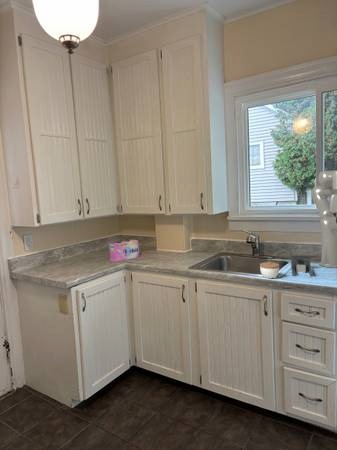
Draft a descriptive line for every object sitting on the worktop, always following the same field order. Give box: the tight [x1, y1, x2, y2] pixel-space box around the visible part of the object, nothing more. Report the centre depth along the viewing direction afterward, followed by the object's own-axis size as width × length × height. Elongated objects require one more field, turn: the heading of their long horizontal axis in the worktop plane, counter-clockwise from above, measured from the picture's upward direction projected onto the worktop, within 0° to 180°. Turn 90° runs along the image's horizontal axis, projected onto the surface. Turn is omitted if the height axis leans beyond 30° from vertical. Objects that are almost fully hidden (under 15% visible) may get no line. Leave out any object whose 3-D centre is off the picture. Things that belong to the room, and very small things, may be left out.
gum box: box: [108, 238, 140, 263], centre depth 259 cm, size 24×8×14 cm, turn 131°
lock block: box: [296, 262, 307, 274], centre depth 203 cm, size 7×5×5 cm
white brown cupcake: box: [259, 261, 280, 279], centre depth 192 cm, size 11×11×9 cm
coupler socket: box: [290, 254, 314, 278], centre depth 200 cm, size 18×11×9 cm, turn 162°
